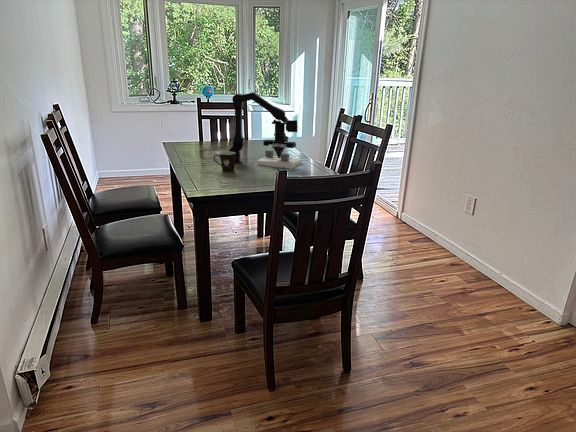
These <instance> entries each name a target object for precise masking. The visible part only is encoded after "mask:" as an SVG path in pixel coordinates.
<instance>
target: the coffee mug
mask: <svg viewBox="0 0 576 432" xmlns="http://www.w3.org/2000/svg"><path fill="white" fill-rule="evenodd" d="M235 156H236V153H235V152H229V151H221V152H219V154H215V155H213V161H214V162H215V163H217V164H218V165H220V166H221V171H222V172H223V173H234V172H235V165H236V164H235ZM215 157H219V159H220V162H221V163H220V162H218V161H217V160H216V159H215Z"/></svg>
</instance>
